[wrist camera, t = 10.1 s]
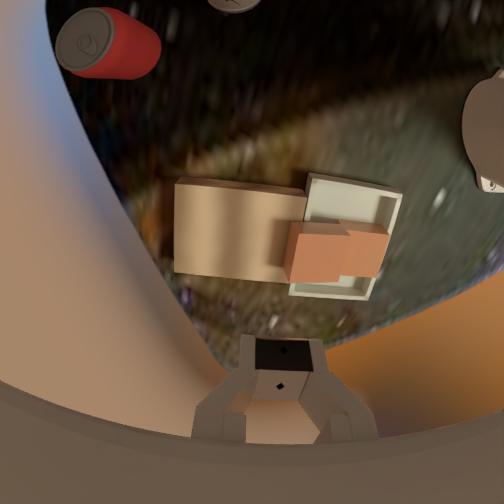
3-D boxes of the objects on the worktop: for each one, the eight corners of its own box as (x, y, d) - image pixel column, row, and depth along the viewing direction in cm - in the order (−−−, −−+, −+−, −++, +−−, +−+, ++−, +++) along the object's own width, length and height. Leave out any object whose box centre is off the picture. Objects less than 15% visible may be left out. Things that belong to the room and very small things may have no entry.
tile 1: (340, 224, 34) (351, 235, 32) (329, 268, 37) (338, 282, 34) (291, 221, 33) (298, 233, 30) (282, 268, 36) (289, 283, 33)
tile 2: (381, 224, 36) (390, 235, 33) (368, 265, 39) (376, 277, 36) (337, 218, 36) (344, 229, 33) (327, 261, 39) (332, 274, 36)
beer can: (128, 91, 29) (73, 94, 18) (99, 53, 26) (38, 45, 15) (174, 54, 27) (135, 35, 16) (142, 16, 24) (94, -13, 14)
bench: (302, 189, 35) (307, 197, 32) (286, 270, 40) (289, 283, 37) (180, 176, 34) (174, 183, 31) (179, 259, 39) (174, 272, 36)
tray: (394, 188, 34) (402, 194, 32) (362, 289, 42) (367, 300, 39) (308, 172, 34) (312, 178, 31) (286, 283, 41) (288, 295, 39)
